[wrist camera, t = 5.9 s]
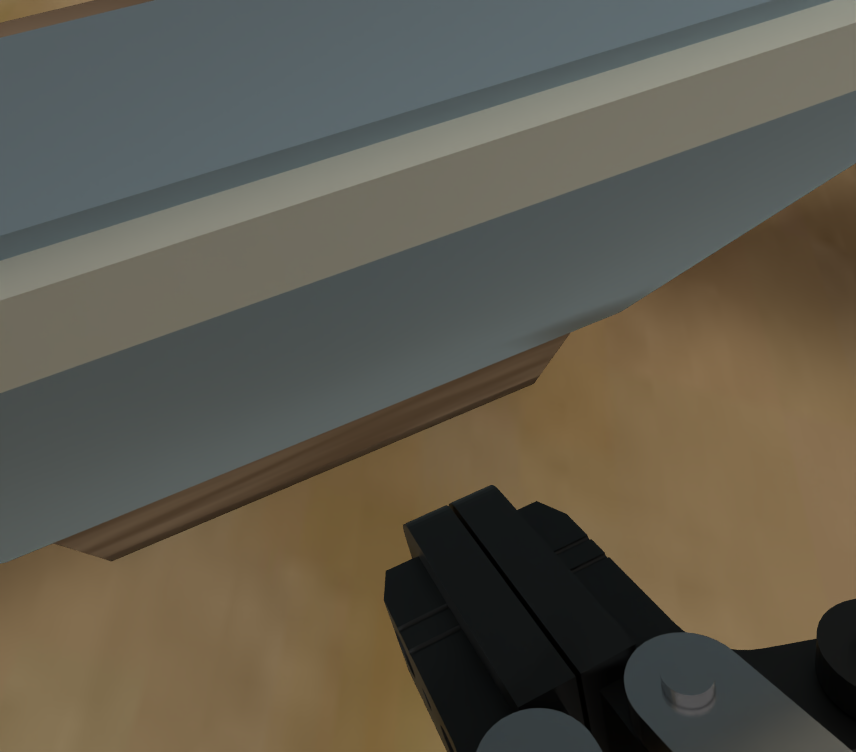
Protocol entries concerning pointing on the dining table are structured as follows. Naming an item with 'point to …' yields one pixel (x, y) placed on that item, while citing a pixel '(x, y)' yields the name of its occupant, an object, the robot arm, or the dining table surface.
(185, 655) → the dining table surface
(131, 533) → the box
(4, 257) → the lid
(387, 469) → the dining table surface
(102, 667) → the dining table surface
